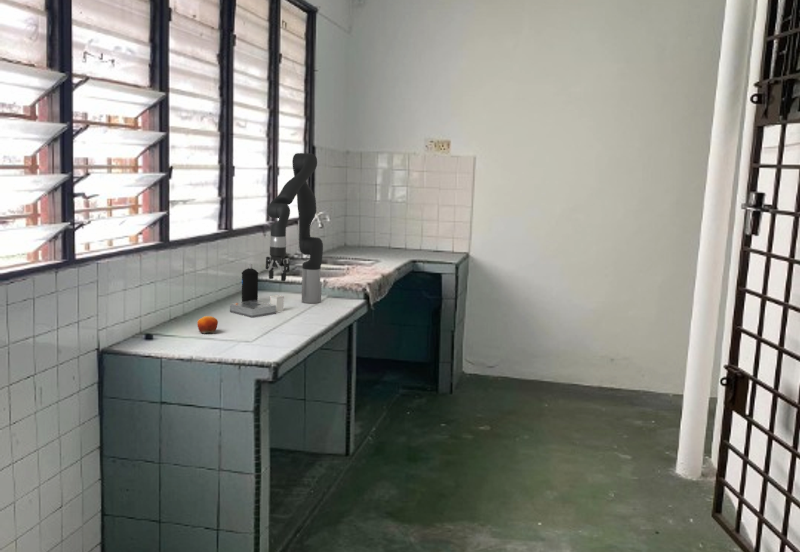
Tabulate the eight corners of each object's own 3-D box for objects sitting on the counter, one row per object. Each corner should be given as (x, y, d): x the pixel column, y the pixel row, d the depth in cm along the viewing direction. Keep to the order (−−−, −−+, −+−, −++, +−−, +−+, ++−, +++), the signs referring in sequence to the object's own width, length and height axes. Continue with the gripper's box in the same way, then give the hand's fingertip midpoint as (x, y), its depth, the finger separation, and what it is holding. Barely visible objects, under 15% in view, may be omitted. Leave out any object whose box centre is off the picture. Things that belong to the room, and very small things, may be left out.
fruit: (200, 333, 287) (198, 314, 289) (197, 339, 293) (195, 320, 296) (221, 331, 290) (218, 313, 293) (217, 337, 297) (214, 319, 299)
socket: (253, 308, 346) (253, 299, 345) (275, 313, 336) (276, 304, 335) (229, 312, 335) (229, 302, 334) (252, 317, 325) (252, 307, 325)
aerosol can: (261, 304, 357) (262, 264, 354) (249, 306, 350) (250, 265, 347) (249, 302, 361) (249, 262, 358) (237, 304, 354) (237, 264, 351)
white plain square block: (277, 309, 346) (277, 294, 345) (283, 310, 343) (283, 296, 342) (270, 310, 343) (270, 296, 342) (276, 312, 340) (276, 297, 339)
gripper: (294, 246, 337) (293, 281, 339) (273, 243, 346) (273, 277, 348) (282, 247, 331) (281, 282, 333) (261, 244, 340) (261, 278, 342)
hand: (277, 279), depth 341 cm, fingers open, 8 cm apart
